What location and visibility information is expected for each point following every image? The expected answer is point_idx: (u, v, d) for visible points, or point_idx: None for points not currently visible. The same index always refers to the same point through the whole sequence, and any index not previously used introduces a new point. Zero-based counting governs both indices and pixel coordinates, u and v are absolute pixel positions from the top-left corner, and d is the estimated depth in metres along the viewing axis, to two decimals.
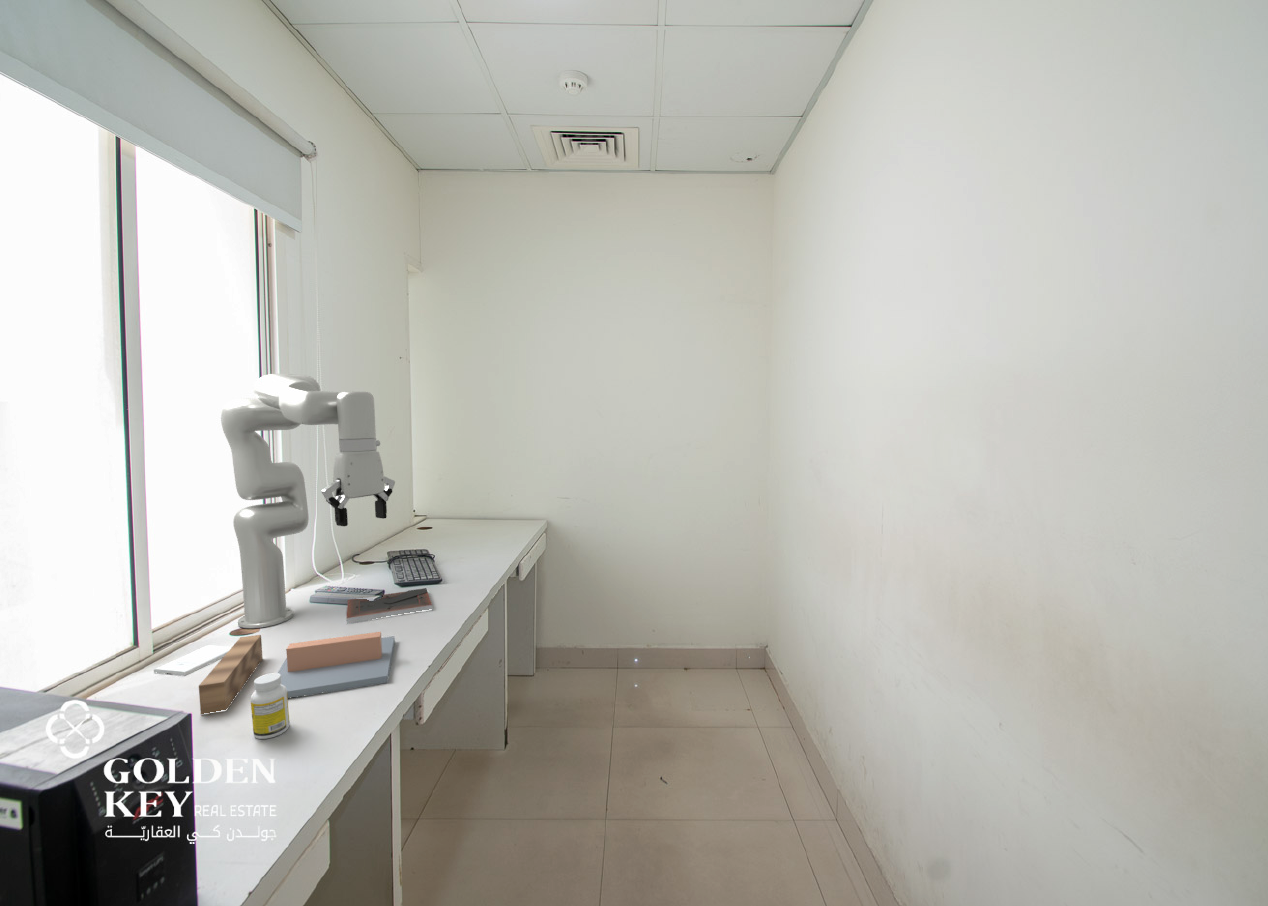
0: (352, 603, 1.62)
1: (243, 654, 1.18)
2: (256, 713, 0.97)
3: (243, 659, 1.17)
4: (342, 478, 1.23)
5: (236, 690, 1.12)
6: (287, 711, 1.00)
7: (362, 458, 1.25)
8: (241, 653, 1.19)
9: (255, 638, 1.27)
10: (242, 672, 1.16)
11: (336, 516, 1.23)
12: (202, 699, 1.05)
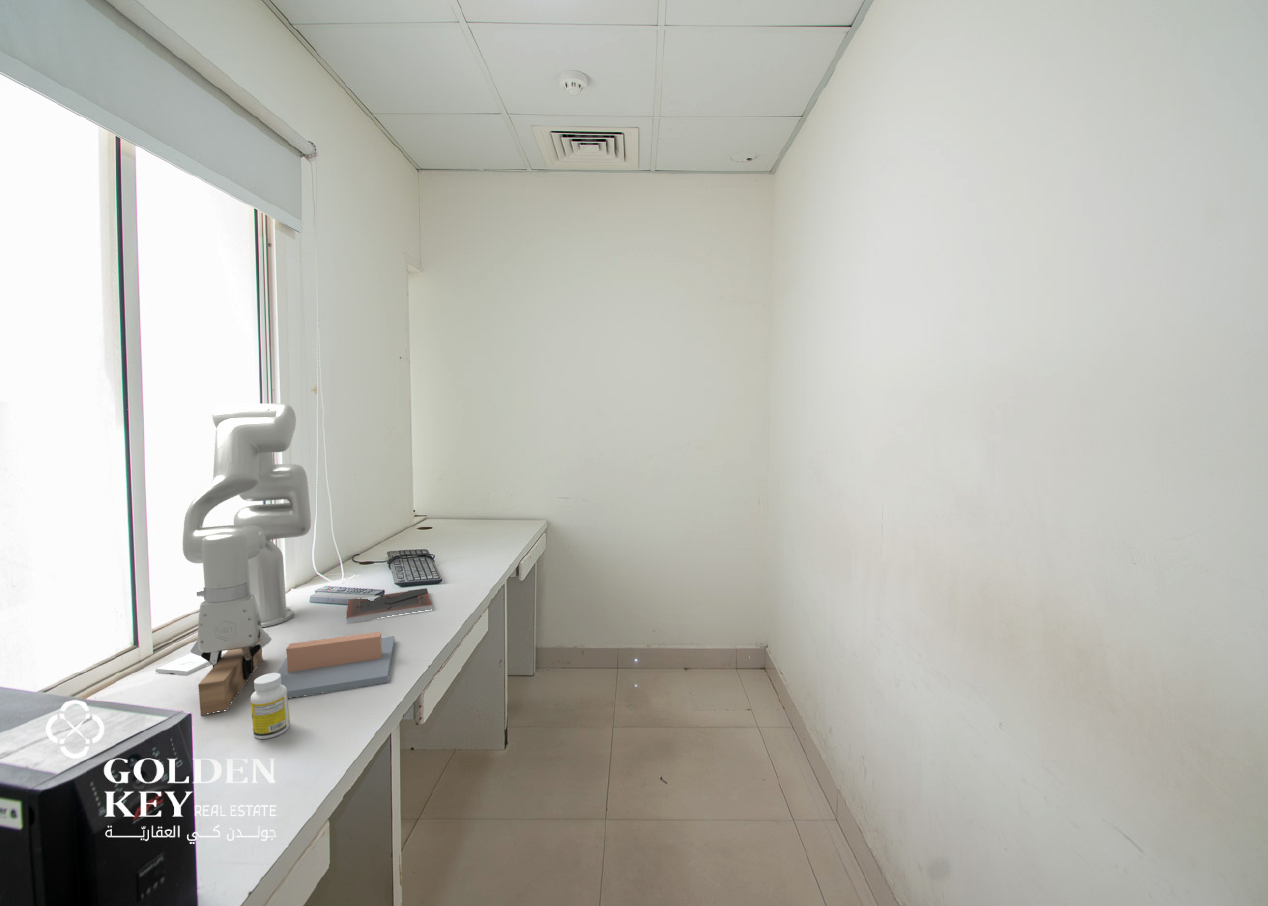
0: (352, 602, 1.62)
1: None
2: (256, 713, 0.97)
3: (243, 658, 1.17)
4: (259, 618, 1.19)
5: (236, 689, 1.12)
6: (287, 711, 1.00)
7: None
8: (241, 652, 1.19)
9: None
10: (242, 671, 1.16)
11: (252, 666, 1.18)
12: (201, 698, 1.05)
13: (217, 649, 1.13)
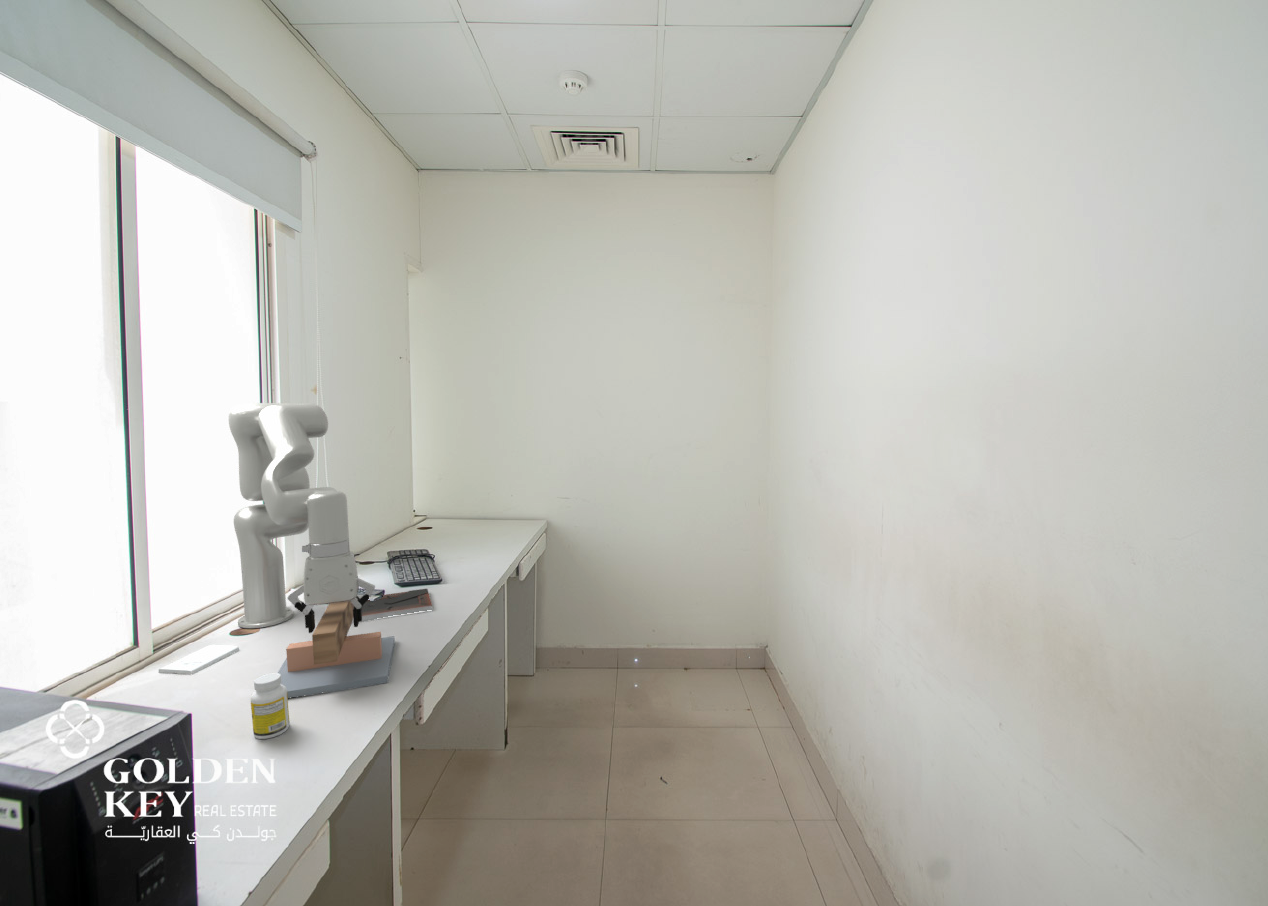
0: None
1: (342, 611, 1.24)
2: (256, 713, 0.97)
3: (343, 615, 1.23)
4: (357, 574, 1.25)
5: (340, 643, 1.18)
6: (287, 711, 1.00)
7: None
8: (340, 610, 1.25)
9: None
10: (343, 627, 1.22)
11: (361, 615, 1.24)
12: (315, 648, 1.11)
13: (321, 602, 1.19)
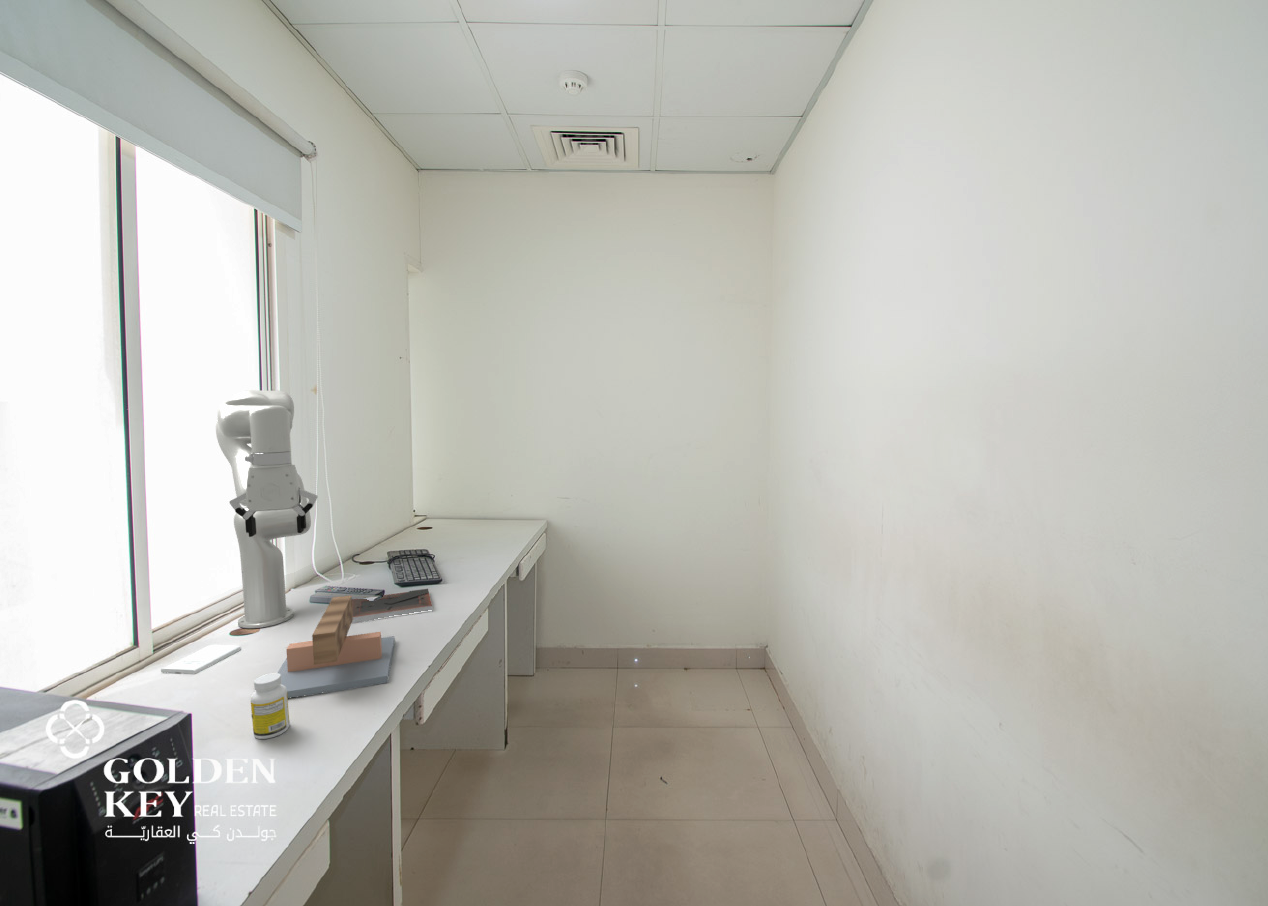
0: (353, 603, 1.62)
1: (342, 611, 1.24)
2: (256, 713, 0.97)
3: (343, 615, 1.23)
4: (299, 486, 1.32)
5: (340, 643, 1.18)
6: (287, 711, 1.00)
7: None
8: (340, 610, 1.25)
9: (347, 598, 1.33)
10: (343, 627, 1.22)
11: (304, 522, 1.32)
12: (315, 648, 1.11)
13: (263, 508, 1.27)
